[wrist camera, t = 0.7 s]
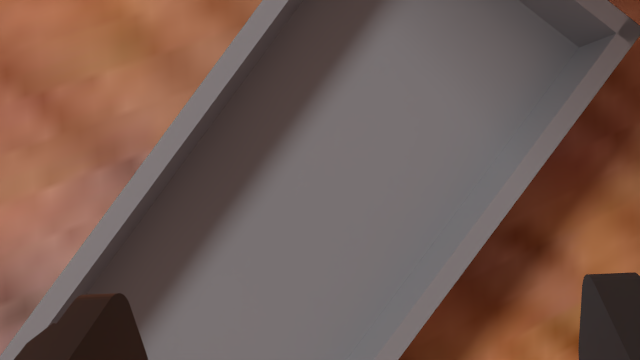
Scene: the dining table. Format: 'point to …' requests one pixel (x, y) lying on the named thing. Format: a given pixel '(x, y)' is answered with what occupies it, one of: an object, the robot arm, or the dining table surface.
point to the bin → (339, 174)
